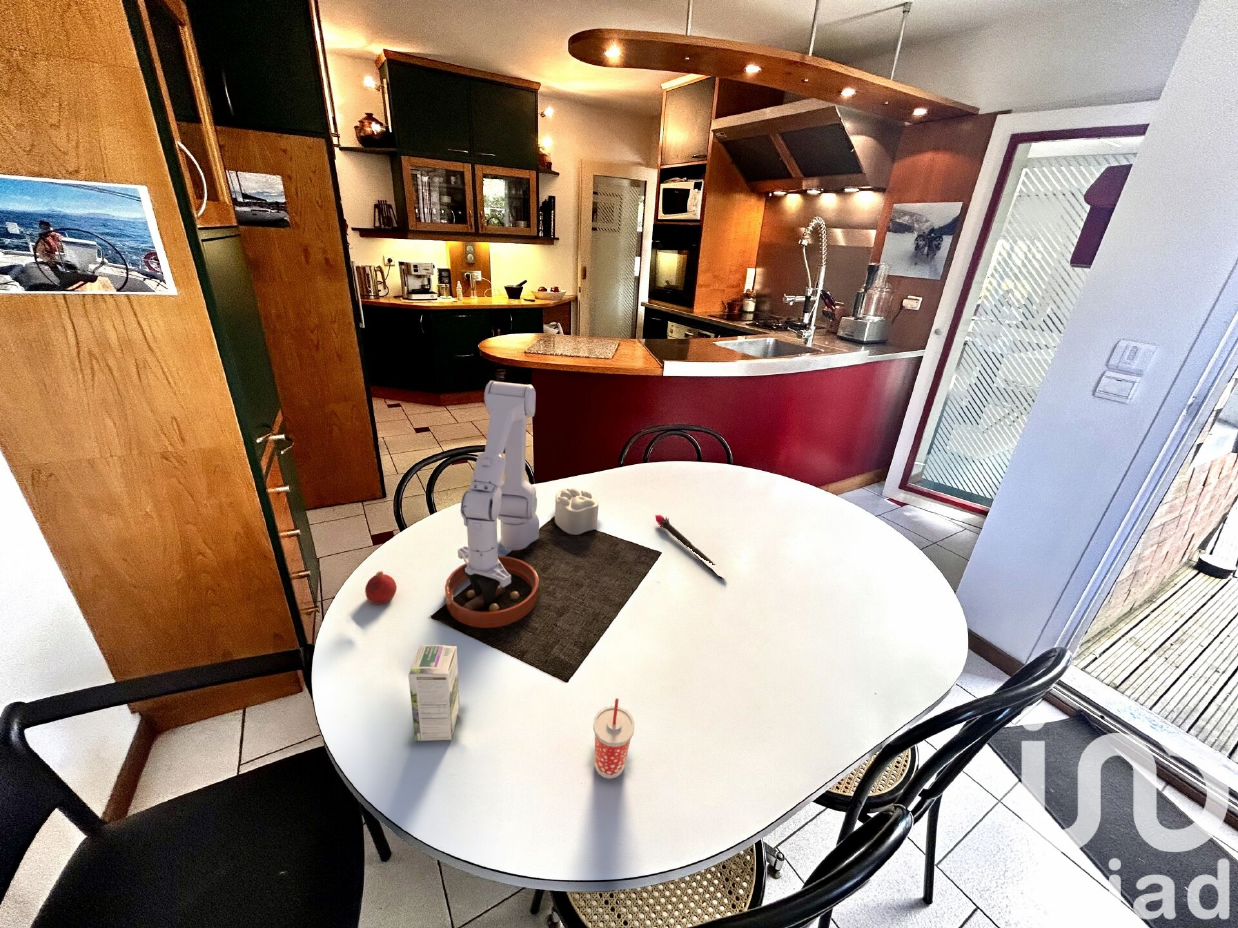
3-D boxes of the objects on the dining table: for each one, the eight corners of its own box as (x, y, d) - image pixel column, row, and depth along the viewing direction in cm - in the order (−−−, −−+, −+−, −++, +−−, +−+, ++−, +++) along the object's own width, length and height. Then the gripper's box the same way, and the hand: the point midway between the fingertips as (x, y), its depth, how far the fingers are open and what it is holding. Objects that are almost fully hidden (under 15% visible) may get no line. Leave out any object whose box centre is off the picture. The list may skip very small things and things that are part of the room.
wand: (720, 573, 118) (650, 510, 140) (716, 586, 120) (648, 522, 142) (732, 569, 120) (662, 507, 142) (729, 581, 122) (660, 519, 144)
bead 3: (515, 595, 108) (515, 588, 107) (521, 599, 107) (521, 592, 106) (508, 599, 107) (507, 592, 106) (514, 604, 106) (514, 596, 105)
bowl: (498, 563, 119) (498, 546, 117) (556, 599, 109) (556, 581, 107) (427, 602, 105) (426, 583, 103) (486, 648, 94) (485, 628, 92)
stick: (500, 589, 109) (500, 580, 108) (507, 593, 108) (507, 585, 107) (460, 612, 101) (460, 603, 100) (467, 618, 100) (467, 609, 99)
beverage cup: (597, 739, 79) (603, 677, 73) (633, 752, 78) (642, 689, 72) (583, 775, 74) (589, 710, 68) (622, 789, 72) (631, 724, 66)
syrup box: (424, 709, 81) (417, 643, 75) (461, 709, 82) (456, 643, 76) (414, 741, 76) (405, 673, 70) (453, 741, 77) (448, 673, 71)
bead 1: (472, 594, 107) (472, 586, 107) (478, 598, 106) (477, 590, 105) (464, 598, 106) (464, 591, 105) (470, 602, 105) (470, 595, 104)
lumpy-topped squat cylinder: (570, 536, 132) (571, 508, 128) (546, 515, 141) (547, 488, 137) (601, 526, 138) (604, 499, 134) (576, 506, 147) (578, 480, 143)
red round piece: (386, 615, 100) (382, 583, 97) (361, 609, 101) (356, 578, 98) (403, 597, 105) (399, 566, 102) (379, 591, 106) (375, 561, 103)
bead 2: (494, 607, 104) (494, 599, 103) (500, 611, 103) (500, 604, 102) (487, 612, 103) (486, 604, 102) (493, 616, 102) (493, 609, 101)
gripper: (443, 537, 99) (447, 591, 105) (490, 567, 91) (492, 624, 97) (472, 524, 104) (475, 576, 110) (518, 552, 97) (519, 606, 102)
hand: (484, 597), depth 104 cm, fingers closed on stick, 2 cm apart
